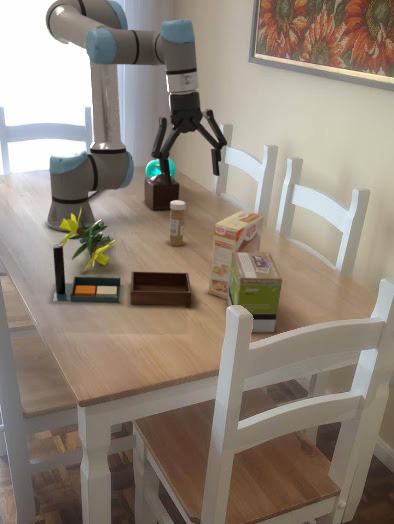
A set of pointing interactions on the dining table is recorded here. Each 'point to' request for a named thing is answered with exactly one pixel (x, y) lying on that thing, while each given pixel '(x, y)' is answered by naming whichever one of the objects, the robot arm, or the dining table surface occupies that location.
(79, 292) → the sachet orange
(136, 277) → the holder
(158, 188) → the wooden coffee grinder
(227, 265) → the coffeecake box
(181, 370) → the dining table surface
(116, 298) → the green tray with post
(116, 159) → the robot arm
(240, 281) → the tea box
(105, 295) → the block
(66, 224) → the daffodil flowers
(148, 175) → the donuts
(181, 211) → the spice jar
